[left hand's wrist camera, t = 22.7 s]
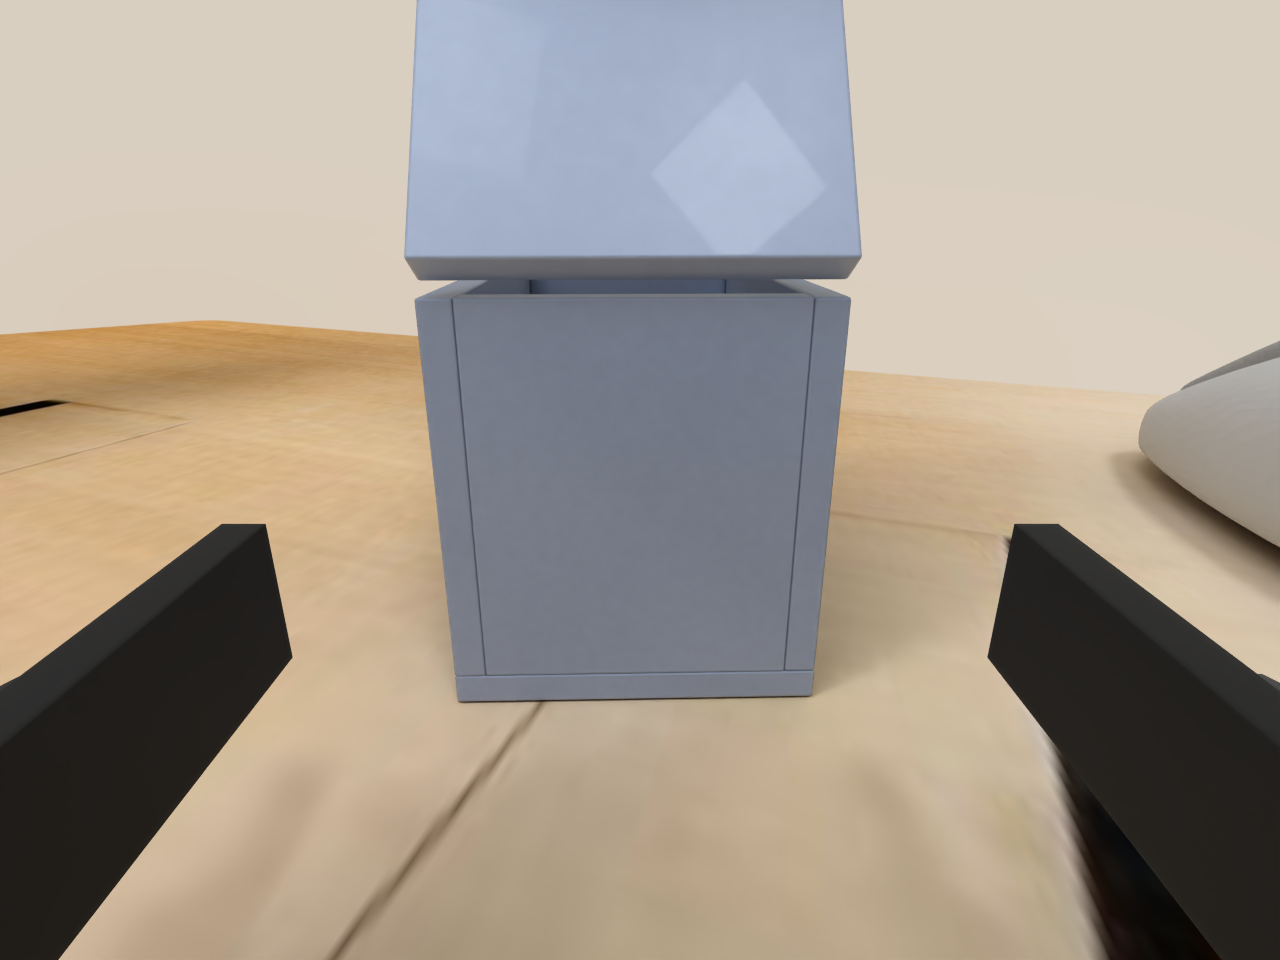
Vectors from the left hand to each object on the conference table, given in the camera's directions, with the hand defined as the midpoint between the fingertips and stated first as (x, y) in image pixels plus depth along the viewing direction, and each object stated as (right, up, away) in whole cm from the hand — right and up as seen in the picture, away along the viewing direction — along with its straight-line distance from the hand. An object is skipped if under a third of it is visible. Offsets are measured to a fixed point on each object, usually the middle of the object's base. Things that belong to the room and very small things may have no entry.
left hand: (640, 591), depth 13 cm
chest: (0, -1, +15) cm, 15 cm away
